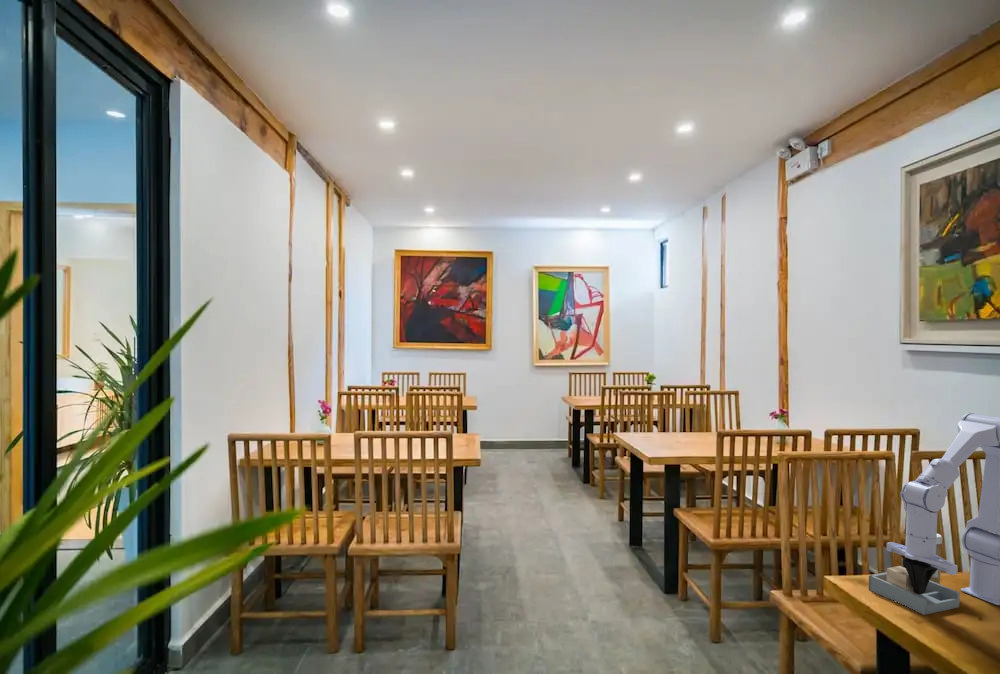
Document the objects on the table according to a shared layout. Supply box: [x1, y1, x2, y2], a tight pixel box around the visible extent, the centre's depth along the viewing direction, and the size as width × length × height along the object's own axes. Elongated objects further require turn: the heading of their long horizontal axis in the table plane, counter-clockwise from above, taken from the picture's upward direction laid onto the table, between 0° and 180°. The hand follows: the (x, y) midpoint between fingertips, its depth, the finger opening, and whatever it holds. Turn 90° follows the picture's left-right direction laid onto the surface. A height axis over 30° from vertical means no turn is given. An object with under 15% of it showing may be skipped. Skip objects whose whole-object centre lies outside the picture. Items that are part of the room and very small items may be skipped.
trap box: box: [868, 571, 961, 616], centre depth 134 cm, size 12×13×4 cm
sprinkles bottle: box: [930, 533, 943, 585], centre depth 140 cm, size 5×5×13 cm
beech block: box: [886, 565, 914, 593], centre depth 134 cm, size 4×4×4 cm
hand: (919, 592), depth 130 cm, fingers closed
